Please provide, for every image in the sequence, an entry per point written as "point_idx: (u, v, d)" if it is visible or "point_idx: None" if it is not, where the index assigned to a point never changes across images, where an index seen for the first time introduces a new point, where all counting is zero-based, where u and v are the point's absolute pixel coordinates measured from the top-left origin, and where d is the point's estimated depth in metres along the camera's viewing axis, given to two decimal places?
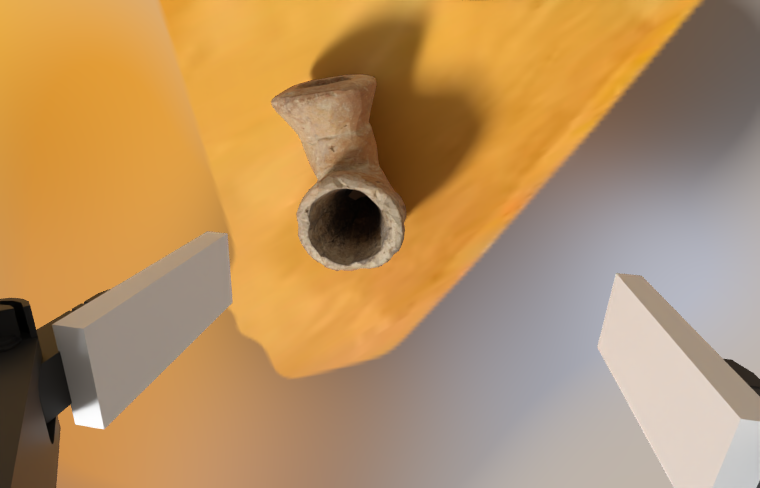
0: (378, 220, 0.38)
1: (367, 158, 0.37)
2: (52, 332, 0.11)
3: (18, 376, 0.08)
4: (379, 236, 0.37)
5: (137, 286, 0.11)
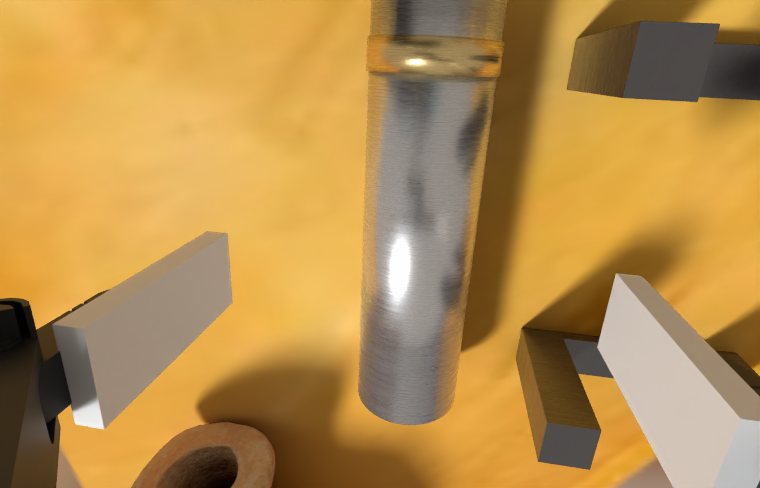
0: None
1: None
2: (52, 332, 0.11)
3: (18, 376, 0.08)
4: None
5: (137, 286, 0.12)
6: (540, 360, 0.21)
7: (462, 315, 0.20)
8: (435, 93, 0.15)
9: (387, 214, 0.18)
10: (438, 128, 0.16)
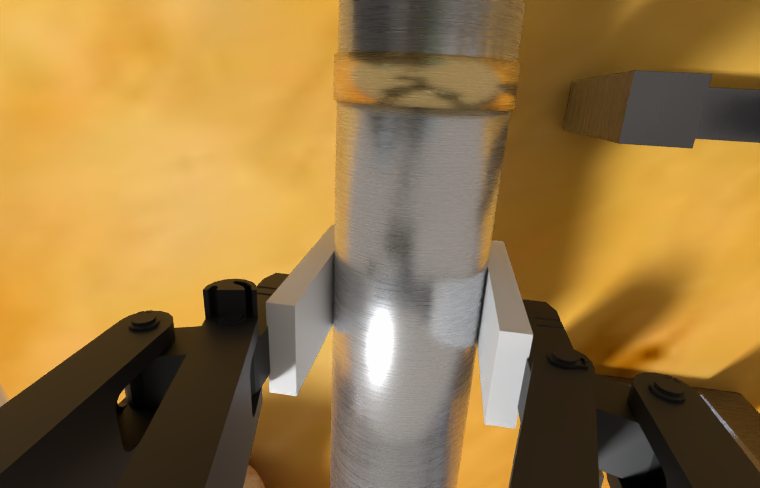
0: None
1: None
2: None
3: (238, 352, 0.09)
4: None
5: (310, 271, 0.13)
6: None
7: (463, 417, 0.15)
8: (425, 133, 0.11)
9: (361, 293, 0.13)
10: (430, 181, 0.11)
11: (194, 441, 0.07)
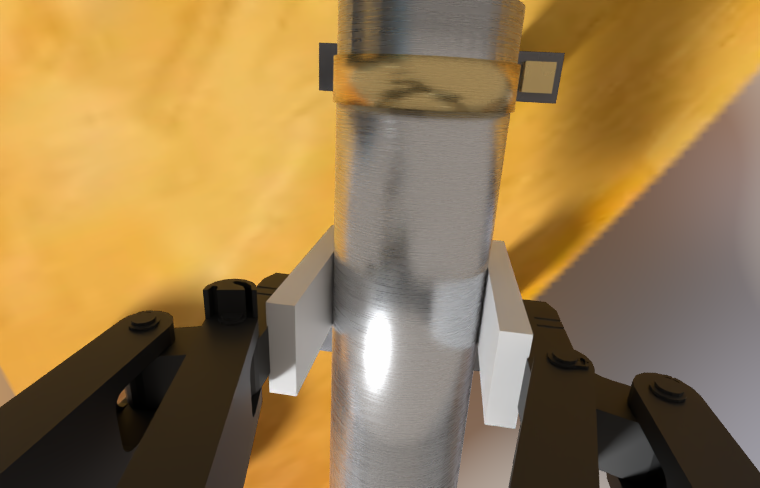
0: None
1: None
2: None
3: (237, 352, 0.09)
4: None
5: (310, 271, 0.13)
6: None
7: (463, 420, 0.15)
8: (425, 136, 0.11)
9: (360, 296, 0.13)
10: (429, 184, 0.11)
11: (193, 440, 0.07)
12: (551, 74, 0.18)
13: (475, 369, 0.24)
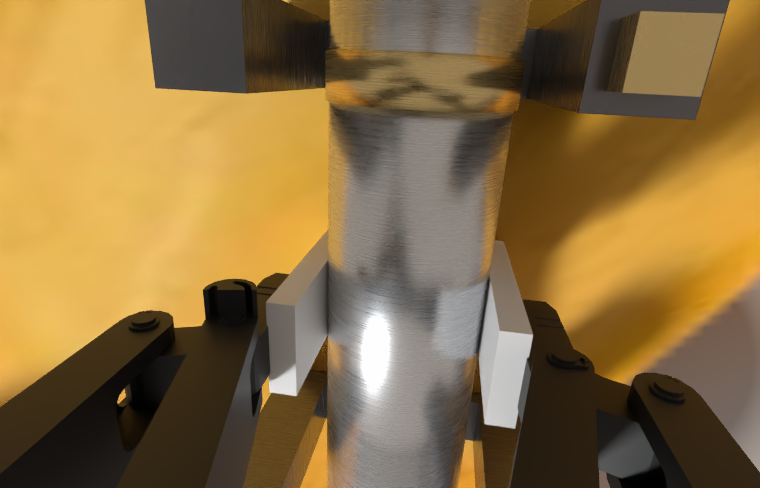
0: None
1: None
2: None
3: (237, 352, 0.09)
4: None
5: (310, 271, 0.13)
6: (273, 412, 0.17)
7: (463, 428, 0.15)
8: (423, 138, 0.10)
9: (357, 305, 0.12)
10: (428, 189, 0.11)
11: (193, 441, 0.07)
12: (706, 46, 0.07)
13: None
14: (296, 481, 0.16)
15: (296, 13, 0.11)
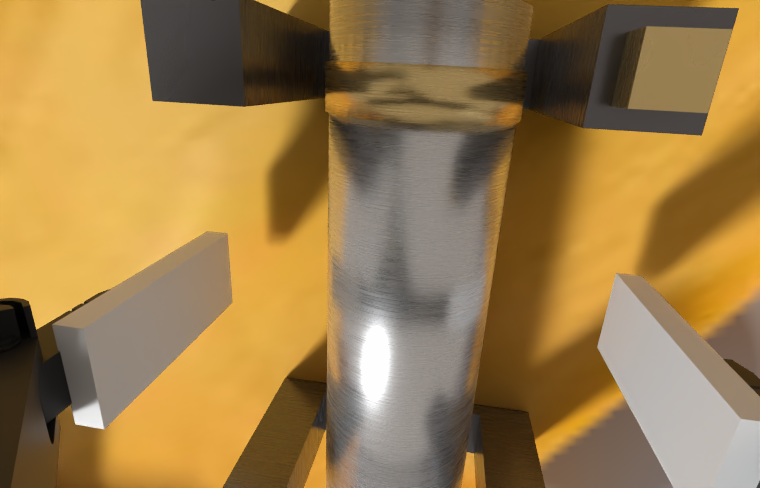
0: None
1: None
2: (52, 332, 0.11)
3: (18, 376, 0.08)
4: None
5: (137, 286, 0.12)
6: (271, 424, 0.17)
7: (464, 443, 0.14)
8: (425, 151, 0.10)
9: (356, 319, 0.12)
10: (429, 203, 0.10)
11: None
12: (713, 62, 0.07)
13: None
14: None
15: (296, 24, 0.11)
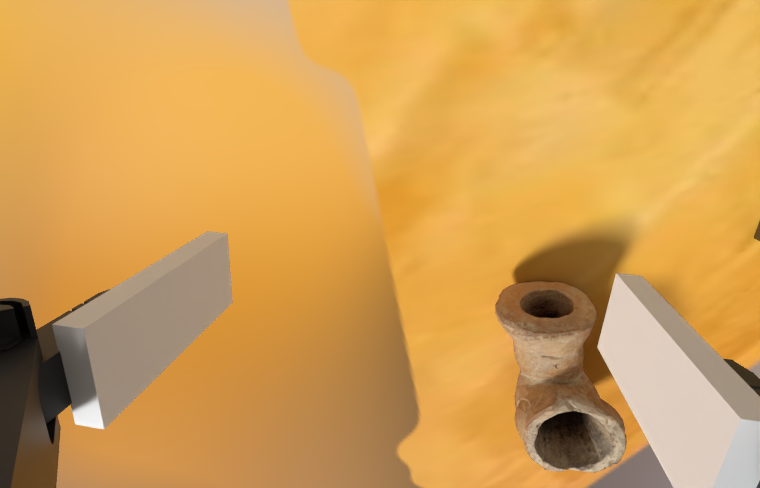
0: (579, 416, 0.43)
1: (580, 369, 0.41)
2: (52, 332, 0.11)
3: (18, 376, 0.08)
4: (587, 437, 0.41)
5: (137, 286, 0.12)
6: None
7: None
8: None
9: None
10: None
11: None
12: None
13: None
14: None
15: None
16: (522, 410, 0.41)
